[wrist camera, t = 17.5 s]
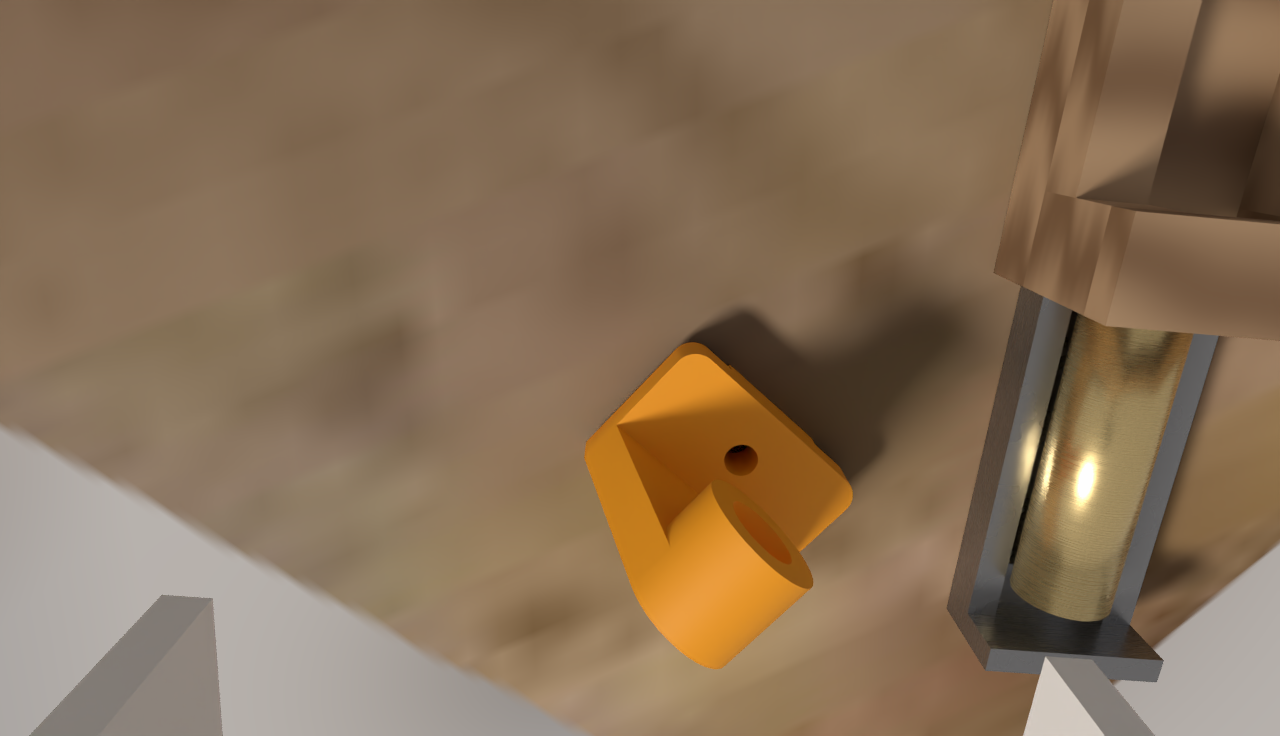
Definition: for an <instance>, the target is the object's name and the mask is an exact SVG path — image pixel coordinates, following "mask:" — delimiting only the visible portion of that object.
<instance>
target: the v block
mask: <svg viewBox="0 0 1280 736" xmlns="http://www.w3.org/2000/svg"><path fill="white" fill-rule="evenodd" d="M1077 314H1078V313H1077V312H1075V311H1073V310H1071V309H1069V308H1067V307H1065V306H1062V305H1060V304H1058V303H1056V302H1054V301H1052V300H1050V299H1048V298H1046V297H1044V296H1041V295H1039V294H1037V293H1035V292H1033V291H1031V290H1029V289H1027V288H1025V287H1023V286H1021V289H1020V293H1019V298H1018V302H1017V306H1016V311H1015V315H1014V319H1013V324H1012V328H1011V332H1010V337H1009V341H1008V345H1007V350H1006V354H1005V358H1004V363H1003V367H1002V371H1001V376H1000V380H999V384H998V389H997V393H996V397H995V402H994V406H993V410H992V415H991V419H990V423H989V428H988V432H987V436H986V441H985V445H984V449H983V454H982V458H981V462H980V467H979V471H978V475H977V480H976V484H975V488H974V493H973V497H972V501H971V506H970V510H969V514H968V519H967V523H966V527H965V532H964V536H963V540H962V545H961V549H960V553H959V558H958V562H957V566H956V571H955V575H954V579H953V584H952V588H951V592H950V597H949V601H948V605H947V610H948V611H949V613H950V615H951V616H952V618H953V619H954V621H955V623H956V624H957V626H958V627H959V629H960V631H961V632H962V634H963V635H964V637H965V639H966V640H967V642H968V644H969V645H970V647H971V648H972V650H973V652H974V653H975V655H976V656H977V658H978V660H979V661H980V663H981V664H982V666H983V668H984V669H985V671H1000V672H1014V673H1029V674H1041V671H1042V667H1043V663H1044V660H1045V656H1048V657H1062V658H1076V659H1091V660H1093V661H1094V663H1095V664H1096V665H1097V666H1098V667H1099V669H1100V670H1101V671H1102V672H1103V673H1104V675H1105V676H1106V677H1107V678H1108V679H1116V680H1131V681H1146V682H1157V680H1158V676H1159V673H1160V670H1161V667H1162V664H1163V661H1164V660H1163V659H1162V658H1160V656H1159V655H1158V654H1157V653H1156V652H1155V651H1154V650H1153V649H1152V648H1151V647H1150V646H1149V645H1148V644H1147V643H1146V642H1145V640H1144V639H1143V638H1142V637H1141V636H1140V635H1139V634H1138V633H1137V632H1136V631H1135V630H1134V629H1133V628H1132V627H1131V626H1130V622H1131V619H1132V615H1133V612H1134V609H1135V606H1136V603H1137V599H1138V596H1139V593H1140V590H1141V586H1142V583H1143V580H1144V577H1145V573H1146V570H1147V567H1148V564H1149V560H1150V557H1151V554H1152V551H1153V547H1154V544H1155V541H1156V538H1157V534H1158V531H1159V528H1160V525H1161V522H1162V518H1163V515H1164V512H1165V509H1166V505H1167V502H1168V499H1169V496H1170V492H1171V489H1172V486H1173V483H1174V479H1175V476H1176V473H1177V470H1178V466H1179V463H1180V460H1181V457H1182V453H1183V450H1184V447H1185V444H1186V441H1187V437H1188V434H1189V431H1190V428H1191V424H1192V421H1193V418H1194V415H1195V411H1196V408H1197V405H1198V402H1199V398H1200V395H1201V392H1202V389H1203V385H1204V382H1205V379H1206V376H1207V372H1208V369H1209V366H1210V363H1211V359H1212V356H1213V353H1214V350H1215V347H1216V343H1217V340H1218V337H1219V336H1217V335H1205V334H1194V335H1193V338H1192V342H1191V345H1190V348H1189V352H1188V355H1187V358H1186V362H1185V365H1184V368H1183V372H1182V375H1181V378H1180V382H1179V385H1178V388H1177V392H1176V395H1175V398H1174V402H1173V405H1172V408H1171V412H1170V415H1169V418H1168V422H1167V425H1166V428H1165V432H1164V435H1163V438H1162V442H1161V445H1160V448H1159V452H1158V455H1157V458H1156V462H1155V465H1154V468H1153V472H1152V475H1151V478H1150V482H1149V485H1148V488H1147V492H1146V495H1145V498H1144V502H1143V505H1142V508H1141V512H1140V515H1139V518H1138V522H1137V525H1136V528H1135V532H1134V535H1133V538H1132V542H1131V545H1130V548H1129V552H1128V555H1127V558H1126V562H1125V565H1124V568H1123V572H1122V575H1121V578H1120V582H1119V585H1118V588H1117V592H1116V595H1115V598H1114V602H1113V605H1112V608H1111V612H1110V614H1109V616H1108V617H1106V618H1104V619H1102V620H1099V621H1076V620H1070V619H1066V618H1062V617H1058V616H1055V615H1052V614H1050V613H1047V612H1045V611H1042V610H1040V609H1038V608H1036V607H1034V606H1033V605H1031V604H1029V603H1028V602H1026V601H1025V600H1023V599H1022V598H1021V597H1020V596H1019V595H1017V594H1016V592H1015V591H1014V590H1013V589H1012V587H1011V584H1010V577H1011V573H1012V569H1013V565H1014V561H1015V557H1016V554H1017V550H1018V546H1019V542H1020V538H1021V534H1022V530H1023V526H1024V522H1025V518H1026V514H1027V510H1028V506H1029V503H1030V499H1031V495H1032V491H1033V487H1034V483H1035V479H1036V475H1037V471H1038V467H1039V463H1040V459H1041V455H1042V451H1043V448H1044V444H1045V440H1046V436H1047V432H1048V428H1049V424H1050V420H1051V416H1052V412H1053V408H1054V404H1055V400H1056V397H1057V393H1058V389H1059V385H1060V381H1061V377H1062V373H1063V369H1064V365H1065V361H1066V357H1067V353H1068V349H1069V345H1070V342H1071V338H1072V334H1073V330H1074V326H1075V322H1076V318H1077Z"/></svg>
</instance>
